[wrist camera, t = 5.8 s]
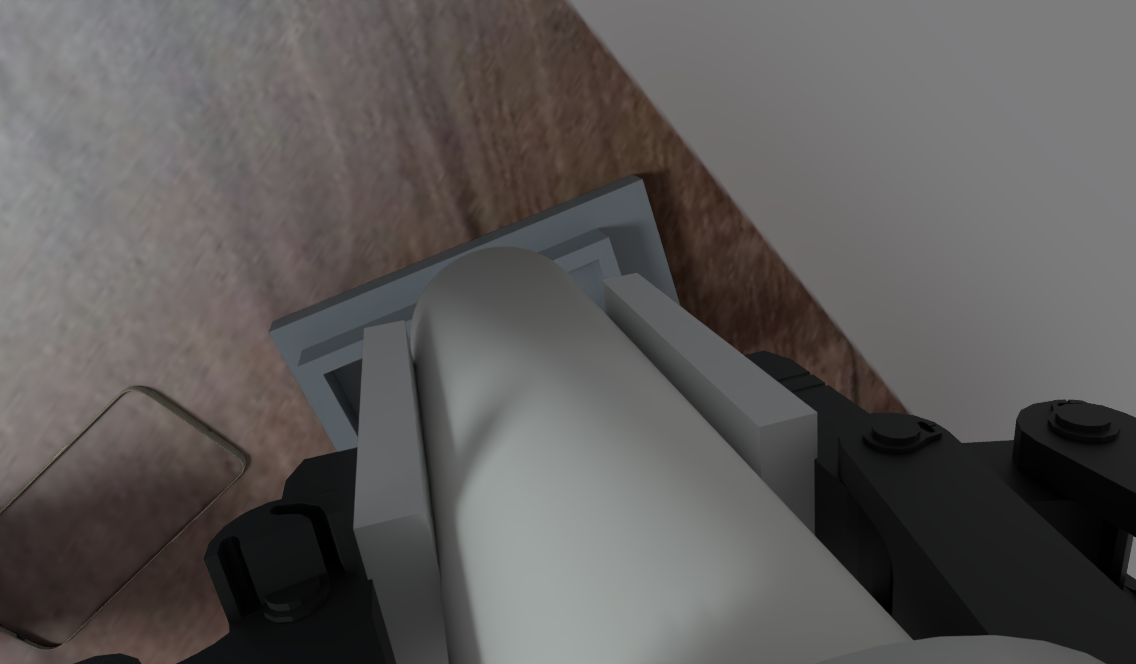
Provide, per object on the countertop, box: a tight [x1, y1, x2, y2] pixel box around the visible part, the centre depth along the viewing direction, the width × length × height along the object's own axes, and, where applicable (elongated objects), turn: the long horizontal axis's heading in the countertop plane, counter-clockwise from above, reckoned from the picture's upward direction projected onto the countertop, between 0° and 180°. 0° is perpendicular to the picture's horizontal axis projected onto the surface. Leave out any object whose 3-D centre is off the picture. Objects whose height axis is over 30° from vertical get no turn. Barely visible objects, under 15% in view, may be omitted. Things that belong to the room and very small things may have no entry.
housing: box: [269, 175, 680, 452], centre depth 32 cm, size 16×19×16 cm
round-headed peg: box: [410, 247, 1106, 664], centre depth 10 cm, size 6×6×14 cm
